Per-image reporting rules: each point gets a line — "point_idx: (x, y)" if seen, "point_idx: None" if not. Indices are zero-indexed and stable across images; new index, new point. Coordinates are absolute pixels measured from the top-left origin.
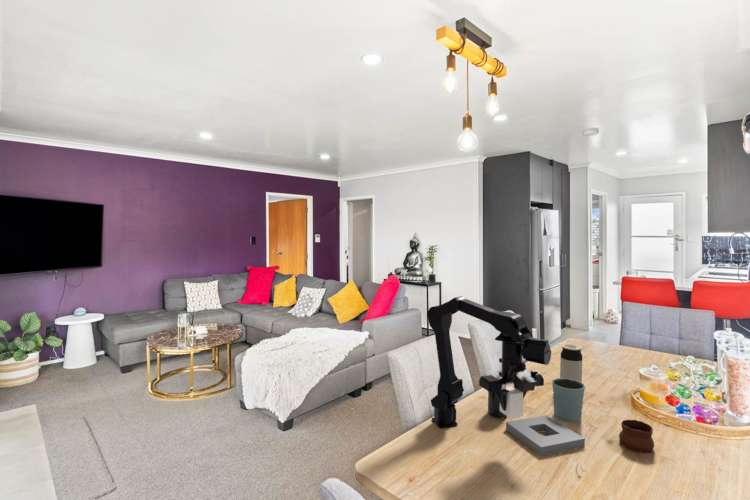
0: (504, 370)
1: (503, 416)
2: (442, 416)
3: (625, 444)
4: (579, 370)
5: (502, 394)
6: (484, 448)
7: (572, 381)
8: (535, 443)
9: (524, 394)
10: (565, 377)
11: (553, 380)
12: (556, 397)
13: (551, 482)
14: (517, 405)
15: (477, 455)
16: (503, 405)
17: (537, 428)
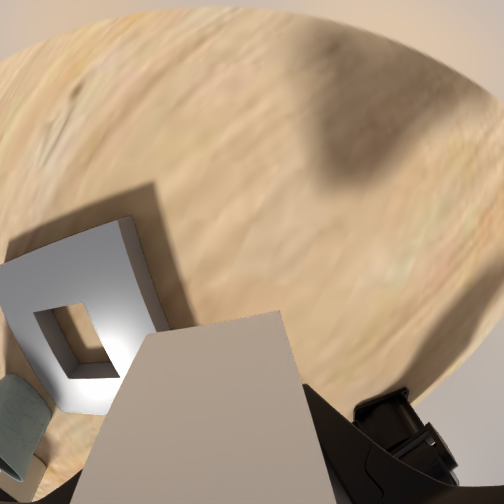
0: None
1: None
2: (408, 416)
3: None
4: (2, 472)
5: (471, 488)
6: (340, 281)
7: None
8: (128, 254)
9: (66, 494)
10: (28, 476)
11: (21, 480)
12: (23, 440)
13: (183, 49)
14: (183, 403)
15: (384, 235)
16: (338, 415)
17: (93, 370)
